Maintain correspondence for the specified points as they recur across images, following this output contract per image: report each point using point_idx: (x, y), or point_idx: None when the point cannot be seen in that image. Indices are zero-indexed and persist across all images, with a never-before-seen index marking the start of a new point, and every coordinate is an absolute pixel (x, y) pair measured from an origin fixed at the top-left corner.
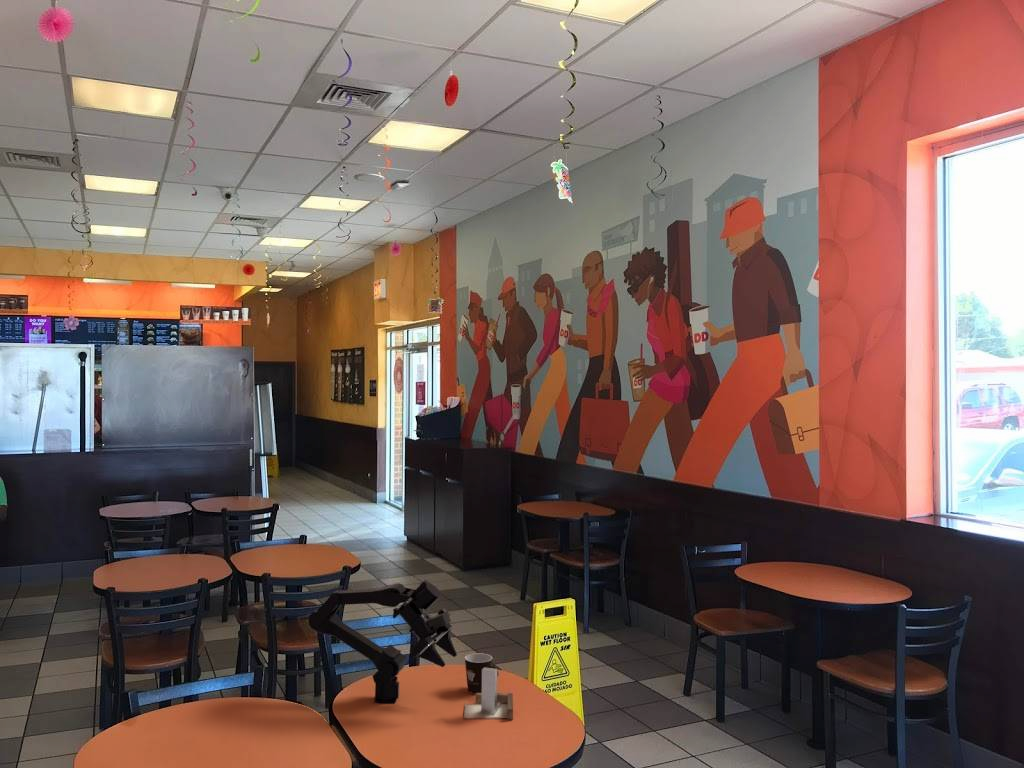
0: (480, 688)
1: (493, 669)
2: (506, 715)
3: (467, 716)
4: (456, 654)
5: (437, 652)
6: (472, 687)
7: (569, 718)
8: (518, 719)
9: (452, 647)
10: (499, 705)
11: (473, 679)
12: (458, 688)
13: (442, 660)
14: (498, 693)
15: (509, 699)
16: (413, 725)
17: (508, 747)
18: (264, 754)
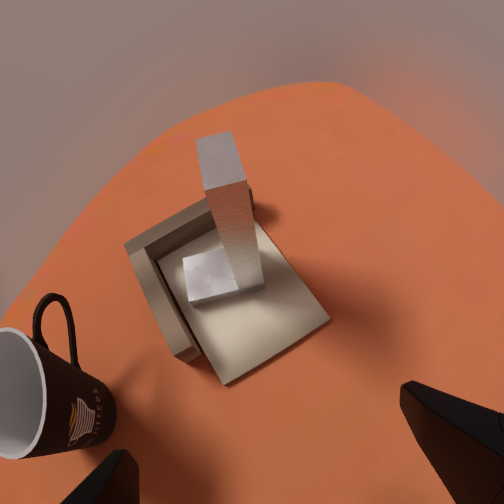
0: (99, 385)
1: (211, 146)
2: None
3: (319, 310)
4: (121, 449)
5: (499, 440)
6: (107, 414)
7: (173, 130)
8: None
9: (96, 497)
10: (199, 254)
11: (91, 406)
12: None
13: (434, 399)
14: (142, 279)
15: (175, 224)
16: None
17: (380, 143)
18: None
